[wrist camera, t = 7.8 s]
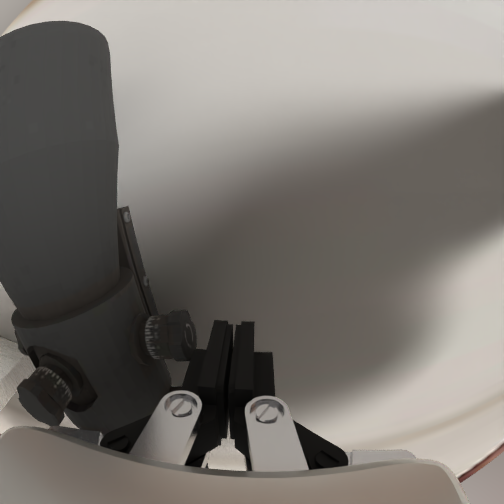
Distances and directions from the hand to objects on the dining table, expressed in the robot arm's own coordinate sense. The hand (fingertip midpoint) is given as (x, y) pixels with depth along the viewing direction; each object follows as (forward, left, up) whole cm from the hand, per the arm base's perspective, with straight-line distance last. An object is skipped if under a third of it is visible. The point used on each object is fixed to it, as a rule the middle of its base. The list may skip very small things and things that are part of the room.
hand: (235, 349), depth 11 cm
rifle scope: (+7, 0, -5) cm, 9 cm away
